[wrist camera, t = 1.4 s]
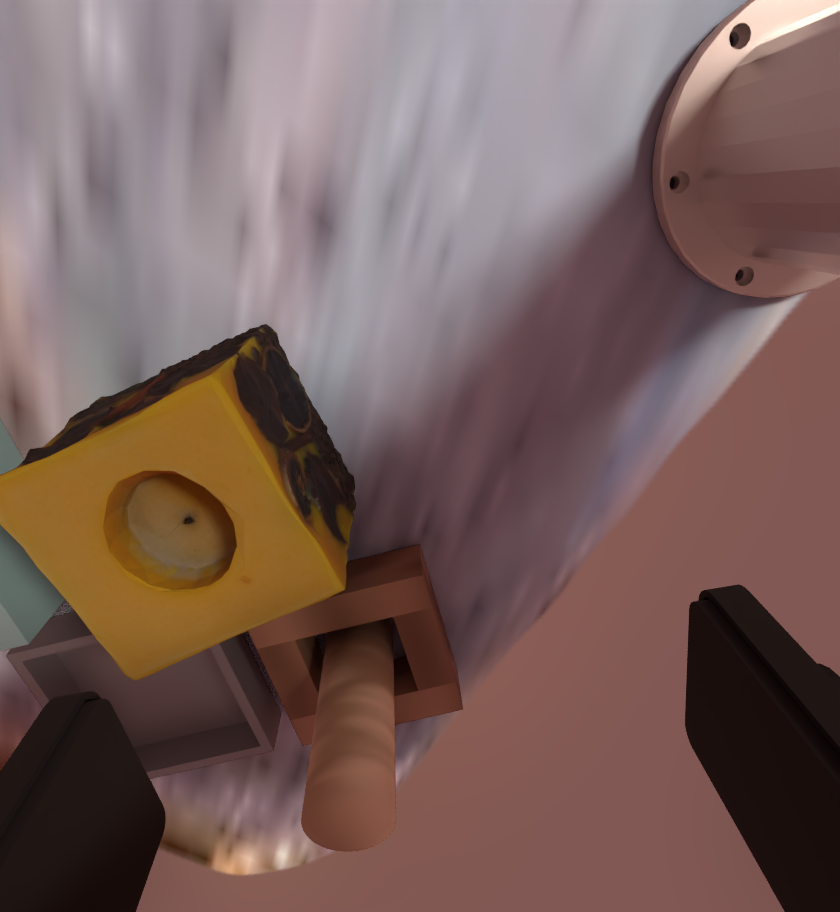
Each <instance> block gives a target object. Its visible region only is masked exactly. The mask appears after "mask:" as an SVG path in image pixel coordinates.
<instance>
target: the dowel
mask: <svg viewBox="0 0 840 912" xmlns="http://www.w3.org/2000/svg"><path fill="white" fill-rule="evenodd" d="M301 824H302V828H303V830H304V832H305V834H306V835H307V836H308V837H309V839H311V840H312V841H313V842H315V843H316V844H318V845H320V846H322V847H324V848H327V849H331V850H336V851H359V850H364V849H368V848H370V847H373V846H375V845H377V844H379V843H381V842H382V841H384V840H385V839H386V838H387V837H388V836H389V835H390V834H391V832H392V831H393V829H394V827H395V824H396V782H395V717H394V652H393V625H392V622H391V619H390V618H386V619H382V620H378V621H373V622H369V623H365V624H361V625H356V626H352V627H348V628H344V629H340V630H335V631H331V632H327V637H326V645H325V652H324V659H323V666H322V673H321V681H320V688H319V695H318V702H317V710H316V717H315V724H314V731H313V739H312V746H311V753H310V760H309V768H308V775H307V782H306V789H305V796H304V804H303V811H302V818H301Z"/></svg>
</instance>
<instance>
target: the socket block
mask: <svg viewBox="0 0 840 912" xmlns="http://www.w3.org/2000/svg"><path fill="white" fill-rule="evenodd" d="M390 617H393V618H394V621H395V624H396V627H397V630H398V632H399V635H400V638H401V641H402V644H403V647H404V650H405V653H406V657H402V658H398V659H394V717H395V725H396V724H400V723H405V722H409V721H414V720H418V719H422V718H427V717H431V716H436V715H440V714H445V713H449V712H453V711H458V710H462V709H463V706H462V699H461V693H460V686H459V679H458V673H457V669H456V666H455V662H454V659H453V655H452V652H451V649H450V645H449V642H448V639H447V635H446V632H445V628H444V625H443V622H442V618H441V615H440V612H439V608H438V605H437V601H436V598H435V595H434V591H433V588H432V584H431V581H430V578H429V574H428V571H427V568H426V564H425V561H424V557H423V554H422V551H421V547H420V544H419V545H415V546H411V547H407V548H402V549H398V550H394V551H390V552H386V553H382V554H378V555H374V556H370V557H365V558H361V559H357V560H353V561H349V562H347V564H346V585H345V590H343V591H341V592H339V593H337V594H335V595H333V596H331V597H329V598H327V599H325V600H323V601H320V602H317V603H315V604H312V605H310V606H307V607H304V608H302V609H299V610H297V611H294V612H292V613H289V614H287V615H284V616H282V617H279V618H277V619H275V620H272V621H270V622H267V623H265V624H263V625H260V626H258V627H256V628H253V629H251V630H248V632H249V634H250V636H251V639H252V641H253V643H254V645H255V647H256V649H257V651H258V653H259V655H260V658H261V660H262V662H263V664H264V666H265V668H266V670H267V672H268V674H269V676H270V679H271V681H272V683H273V685H274V687H275V689H276V691H277V693H278V695H279V698H280V700H281V702H282V704H283V706H284V708H285V710H286V712H287V714H288V717H289V719H290V721H291V723H292V725H293V727H294V729H295V731H296V733H297V735H298V738H299V740H300V742H301V744H302V746H304V745H308V744H312V739H313V731H314V724H315V717H316V710H317V702H318V695H319V688H320V681H321V673H322V666H323V659H324V657H323V655H322V652H321V650H320V647H319V645H318V643H317V640H316V638H315V635H318V634H323V633H327V632H331V631H335V630H340V629H344V628H348V627H352V626H356V625H361V624H365V623H369V622H373V621H378V620H382V619H386V618H390Z"/></svg>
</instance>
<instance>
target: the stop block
mask: <svg viewBox="0 0 840 912" xmlns="http://www.w3.org/2000/svg"><path fill="white" fill-rule="evenodd" d="M23 460H24V459H23V458H22V456H21V454H20V453H19V451H18V449H17V448H16V446H15V444H14V442H13V441H12V439H11V437H10V436H9V434H8V432H7V430H6V429H5V427H4V425H3V424H2V422H1V420H0V475H1V474H3V473H6V472H8V471H10V470H13V469H15V468H16V467H18V466H19V465H20V464H21V463H22V461H23ZM64 600H65V598H64V597H63V596H62V595H61V594H60V592H59V591H58V590H57V589H56V588H55V586H54V585H53V584H52V583H51V582H50V581H49V580H48V578H47V577H46V576H45V575H44V574H43V573H42V572H41V571H40V570H39V569H38V567H37V566H36V565H35V563H34V562H33V561H32V559H31V558H30V556H29V555H28V554H27V552H26V551H25V549H24V548H23V547H22V546H21V545H20V544H19V543H18V542H17V541H16V540H15V539H14V538H13V537H12V536H11V535H10V534H9V533H8V532H7V531H6V530H5V529H4V528H3V527H2V526H1V525H0V651H3V650H7V649H11V648H15V647H19V646H23V645H27V644H29V643H30V642H31V641H32V640H33V638H34V637H35V636H36V635H37V633H38V632H39V631H40V630H41V628H42V627H43V626H44V625H45V624H46V622H47V621H48V620H49V619H50V617H51V616H52V615H53V614H54V612H55V611H56V610H57V609H58V607H59V606H60V605H61V604H62V603H63V601H64Z"/></svg>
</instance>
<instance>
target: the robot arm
mask: <svg viewBox="0 0 840 912" xmlns="http://www.w3.org/2000/svg"><path fill="white" fill-rule="evenodd" d="M730 35H731V36H732V38H733V45H732V46H731V45H730V41H729V36H730ZM652 169H653V196H654V200H655V205H656V209H657V214H658V219H659V222H660V224H661V227H662V229H663V231H664V234H665V236H666V238H667V240H668V243H669V245H670V246H671V247H672V249H673V250H674V252H675V253H676V254H677V256H678V257H679V258H680V260H681V261H682V262H683V264H684V265H686V266H687V267H688V268H689V269H690V270H691V271H692V272H694V273H695V274H696V275H697V276H698V277H699V278H701V279H703V280H704V281H706V282H708V283H710V284H712V285H714V286H716V287H718V288H720V289H723V290H726V291H730V292H733V293H737V294H740V295H747V296H754V297H761V298H772V297H787V296H792V295H796V294H800V293H804V292H808V291H812V290H815V289H817V288H820V287H822V286H824V285H826V284H829V283H831V282H833V281H835V280H838V279H840V0H748V1H747V2H745V3H744V4H743V5H741V6H740V7H739V8H738V9H736V10H735V11H734V12H732V13H731V14H730V15H729V16H727V17H726V18H725V19H724V20H723V21H722V22H721V23H720V24H719V25H718V26H717V27H716V28H715V29H714V30H713V31H712V32H711V33H710V35H709V36H708V37H707V38H706V39H705V40H704V41H703V42H702V43H701V44H700V46H699V47H698V49H697V50H696V51H695V53H694V54H693V56H692V57H691V59H690V60H689V62H688V63H687V65H686V66H685V68H684V69H683V71H682V72H681V74H680V76H679V78H678V80H677V82H676V84H675V86H674V88H673V90H672V93H671V95H670V97H669V99H668V101H667V103H666V106H665V109H664V112H663V116H662V119H661V122H660V126H659V129H658V132H657V136H656V143H655V151H654V158H653V165H652ZM671 177H673V178H674V179H675V185H674V187H673V188H672V189H670V186H669V184H670V179H671ZM737 272H738V276H737V277H736V278H735V276H736V273H737ZM685 727H686V732H687V735H688V738H689V741H690V744H691V746H692V748H693V750H694V751H695V753H696V755H697V757H698V759H699V760H700V762H701V764H702V766H703V768H704V769H705V771H706V773H707V775H708V776H709V778H710V780H711V782H712V783H713V785H714V787H715V789H716V791H717V792H718V794H719V796H720V798H721V799H722V801H723V803H724V805H725V807H726V808H727V810H728V812H729V814H730V815H731V817H732V819H733V821H734V822H735V824H736V826H737V828H738V830H739V831H740V833H741V835H742V836H743V838H744V840H745V842H746V844H747V845H748V847H749V849H750V851H751V852H752V854H753V856H754V858H755V860H756V862H757V863H758V865H759V867H760V869H761V870H762V872H763V874H764V875H765V877H766V879H767V881H768V883H769V884H770V886H771V888H772V890H773V892H774V893H775V895H776V897H777V899H778V901H779V902H780V904H781V906H782V908H783V909H784V911H785V912H840V677H839V676H838V675H837V674H836V673H835V672H834V671H832V670H831V669H830V668H828V667H826V666H824V665H822V664H817V663H816V662H815V661H814V660H813V659H812V658H811V657H810V656H809V655H808V654H807V653H806V652H805V651H804V650H803V649H802V647H801V646H799V644H798V643H797V642H796V641H795V640H794V639H793V638H792V637H791V636H790V635H789V633H788V632H787V631H786V630H785V629H784V628H783V627H782V626H781V625H780V624H779V623H778V622H777V621H776V620H775V619H774V618H773V616H771V614H770V613H768V611H767V610H766V609H765V608H764V607H763V606H762V605H761V604H760V603H759V602H758V600H757V599H756V598H755V597H754V596H753V595H752V594H751V593H750V592H749V591H748V590H747V589H746V588H745V587H743V586H741V585H733V586H727V587H721V588H715V589H709V590H704V591H702V592H701V593H700V595H699V600H698V601H696V602H692V603H691V604H690V608H689V631H688V658H687V686H686V711H685ZM164 828H165V810H164V807H163V804H162V802H161V800H160V798H159V797H158V795H157V793H156V791H155V789H154V787H153V785H152V783H151V781H150V779H149V777H148V775H147V773H146V771H145V769H144V767H143V765H142V763H141V761H140V759H139V757H138V755H137V753H136V751H135V749H134V748H133V746H132V744H131V742H130V740H129V738H128V736H127V734H126V732H125V730H124V728H123V726H122V724H121V722H120V720H119V718H118V716H117V714H116V712H115V710H114V708H113V706H112V704H111V703H110V702H109V700H107V699H101V697H100V696H99V694H98V693H96V692H94V691H88V692H82V693H76V694H70V695H64V696H57V697H54V698H53V699H51V700H50V701H49V702H48V703H47V704H46V705H45V707H44V708H43V710H42V711H41V712H40V714H39V715H38V717H37V718H36V720H35V721H34V723H33V724H32V726H31V727H30V729H29V730H28V732H27V733H26V735H25V736H24V738H23V739H22V741H21V742H20V743H19V745H18V746H17V748H16V749H15V751H14V752H13V754H12V755H11V757H10V758H9V760H8V761H7V763H6V764H5V766H4V767H3V769H2V770H1V772H0V912H136V909H137V906H138V903H139V901H140V898H141V895H142V892H143V889H144V887H145V884H146V881H147V878H148V875H149V872H150V869H151V867H152V864H153V861H154V858H155V855H156V852H157V850H158V847H159V844H160V841H161V838H162V835H163V832H164Z"/></svg>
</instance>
